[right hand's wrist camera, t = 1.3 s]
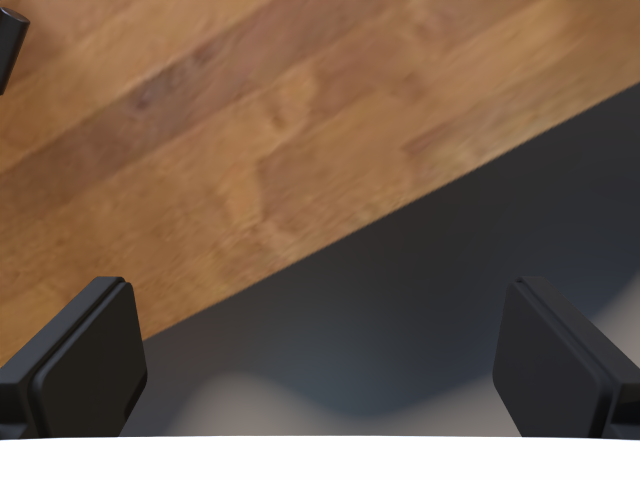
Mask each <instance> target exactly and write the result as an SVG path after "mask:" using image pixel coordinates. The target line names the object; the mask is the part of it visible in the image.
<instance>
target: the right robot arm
mask: <svg viewBox="0 0 640 480" xmlns="http://www.w3.org/2000/svg"><path fill="white" fill-rule="evenodd" d="M146 382H147V367H146V361H145V355H144V349H143V344H142V338H141V332H140V326H139V321H138V315H137V309H136V303H135V298H134V292H133V287H132V285H131V283H129V282H125V280H124V278H122V277H96V278H95V279H94V280H93V281H92V282H91V283H90V284H88V285H87V286H86V287H85V288H84V289H83V290H82V291H81V292H80V293H79V294H78V295H77V296H76V297H75V298H74V299H73V300H72V301H71V302H70V303H69V304H68V305H66V306H65V307H64V308H63V309H62V310H61V311H60V312H59V313H58V314H57V315H56V316H55V317H54V318H53V319H52V320H51V321H50V322H49V323H48V324H47V325H46V326H44V327H43V328H42V329H41V330H40V331H39V332H38V333H37V334H36V335H35V336H34V337H33V338H32V339H31V340H30V341H29V342H28V343H27V344H26V345H25V346H24V347H22V348H21V349H20V350H19V351H18V352H17V353H16V354H15V355H14V356H13V357H12V358H11V359H10V360H9V361H8V362H7V363H6V364H5V365H4V366H3V367H2V368H1V369H0V480H640V369H639V368H638V367H637V366H636V365H635V364H634V363H633V362H632V361H631V360H630V359H629V358H628V357H627V356H626V355H625V354H624V353H623V352H622V351H621V350H620V349H619V348H618V347H616V346H615V345H614V344H613V343H612V342H611V341H610V340H609V339H608V338H607V337H606V336H605V335H604V334H603V333H602V332H601V331H600V330H599V329H598V328H597V327H595V326H594V325H593V324H592V323H591V322H590V321H589V320H588V319H587V318H586V317H585V316H584V315H583V314H582V313H581V312H580V311H579V310H578V309H577V308H576V307H575V306H574V305H572V304H571V303H570V302H569V301H568V300H567V299H566V298H565V297H564V296H563V295H562V294H561V293H560V292H559V291H558V290H557V289H556V288H555V287H554V286H553V285H551V284H550V283H549V282H548V281H547V280H546V279H545V278H544V277H518V278H516V280H515V282H511V283H509V285H508V287H507V292H506V298H505V303H504V309H503V315H502V321H501V326H500V332H499V338H498V344H497V350H496V356H495V361H494V367H493V382H494V386H495V388H496V390H497V392H498V393H499V395H500V397H501V399H502V401H503V403H504V405H505V406H506V408H507V410H508V412H509V414H510V416H511V417H512V419H513V421H514V423H515V425H516V427H517V429H518V430H519V432H520V434H521V436H522V437H417V436H210V437H125V438H124V437H122V438H118V436H119V434H120V432H121V430H122V429H123V427H124V425H125V423H126V421H127V419H128V417H129V416H130V414H131V412H132V410H133V408H134V406H135V405H136V403H137V401H138V399H139V397H140V395H141V393H142V392H143V390H144V388H145V385H146Z"/></svg>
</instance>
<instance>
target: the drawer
mask: <svg viewBox="0 0 640 480" xmlns="http://www.w3.org/2000/svg"><path fill="white" fill-rule="evenodd" d="M29 25H30V21H29V20H28V19H27V18H25V17H24V16H22V15H21V14H19V13H17V12H15V11H13V10H11V9H8V8H4V7H0V96H1V95H3V94H4V91H5V88H6V86H7V83H8V81H9V78H10V75H11V73H12V70H13V67H14V65H15V62H16V59H17V57H18V54H19V51H20V49H21V46H22V43H23V41H24V38H25V36H26V33H27V30H28V28H29Z"/></svg>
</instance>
